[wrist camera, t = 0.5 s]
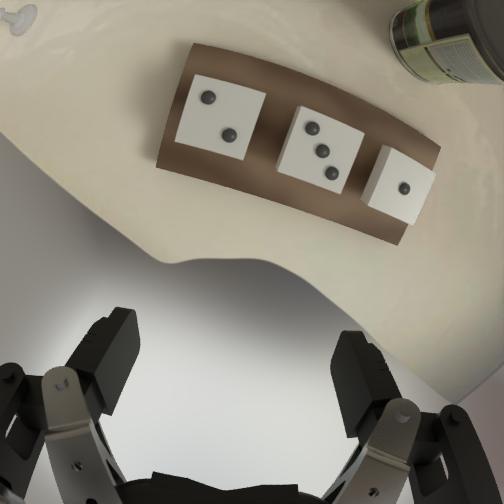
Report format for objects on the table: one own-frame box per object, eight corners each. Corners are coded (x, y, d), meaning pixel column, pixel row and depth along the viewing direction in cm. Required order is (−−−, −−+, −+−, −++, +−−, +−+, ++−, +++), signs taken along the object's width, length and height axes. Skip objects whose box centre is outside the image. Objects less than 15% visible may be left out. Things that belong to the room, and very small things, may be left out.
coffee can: (372, 13, 20) (444, -29, 7) (434, 5, 18) (508, -18, 5) (411, 94, 24) (500, 97, 12) (466, 77, 22) (548, 82, 10)
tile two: (199, 77, 21) (194, 73, 19) (264, 95, 22) (266, 93, 20) (179, 139, 24) (173, 141, 22) (243, 157, 25) (243, 160, 23)
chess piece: (42, 6, 16) (-5, -8, 7) (25, 38, 18) (-26, 32, 9) (24, 3, 15) (-21, -7, 6) (8, 34, 17) (-40, 30, 8)
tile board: (196, 47, 22) (193, 43, 21) (431, 144, 27) (441, 147, 25) (161, 163, 28) (155, 167, 26) (390, 238, 32) (397, 245, 30)
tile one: (382, 144, 24) (392, 147, 22) (425, 169, 25) (437, 174, 23) (360, 199, 26) (368, 206, 24) (404, 218, 27) (414, 226, 25)
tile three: (297, 106, 22) (301, 105, 20) (356, 131, 23) (365, 133, 21) (275, 167, 25) (277, 172, 23) (334, 188, 26) (340, 195, 24)
